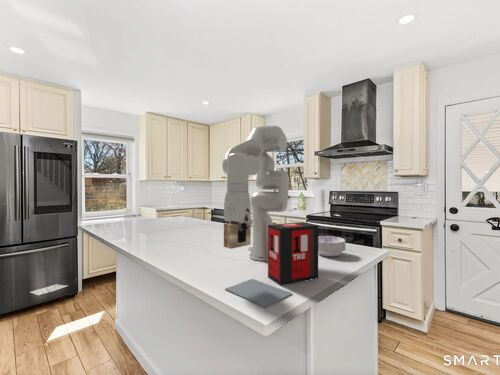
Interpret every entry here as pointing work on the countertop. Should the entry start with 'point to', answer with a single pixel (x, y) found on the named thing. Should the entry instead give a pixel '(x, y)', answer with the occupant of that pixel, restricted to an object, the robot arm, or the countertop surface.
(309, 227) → the cleaning product box
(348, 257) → the countertop surface
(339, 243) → the paper bowls
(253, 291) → the mat
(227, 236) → the brown block
